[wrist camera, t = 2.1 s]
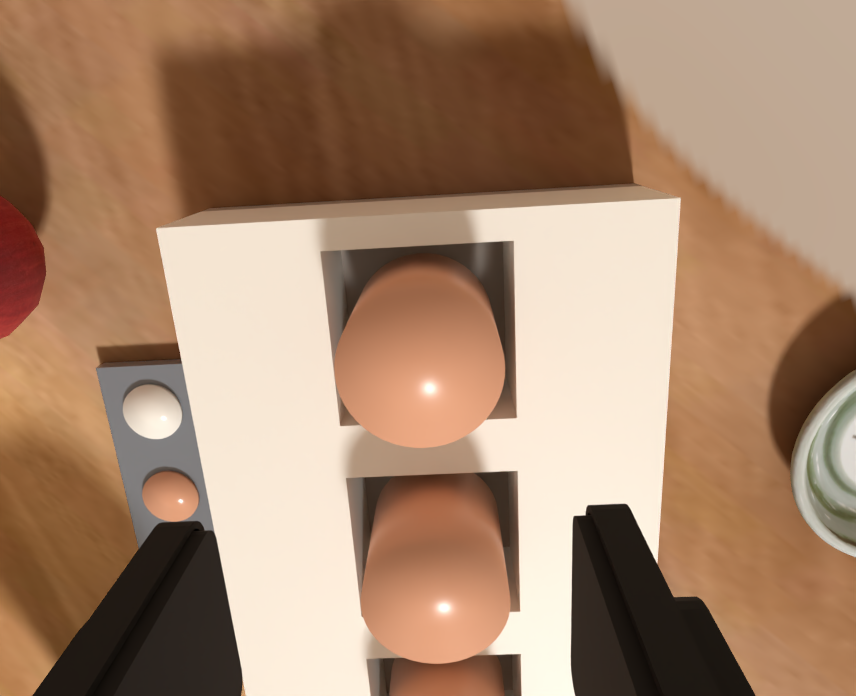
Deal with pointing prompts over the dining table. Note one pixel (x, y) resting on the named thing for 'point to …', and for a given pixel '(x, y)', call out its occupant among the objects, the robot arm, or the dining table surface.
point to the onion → (18, 268)
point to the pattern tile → (155, 443)
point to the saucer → (829, 467)
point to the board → (380, 460)
